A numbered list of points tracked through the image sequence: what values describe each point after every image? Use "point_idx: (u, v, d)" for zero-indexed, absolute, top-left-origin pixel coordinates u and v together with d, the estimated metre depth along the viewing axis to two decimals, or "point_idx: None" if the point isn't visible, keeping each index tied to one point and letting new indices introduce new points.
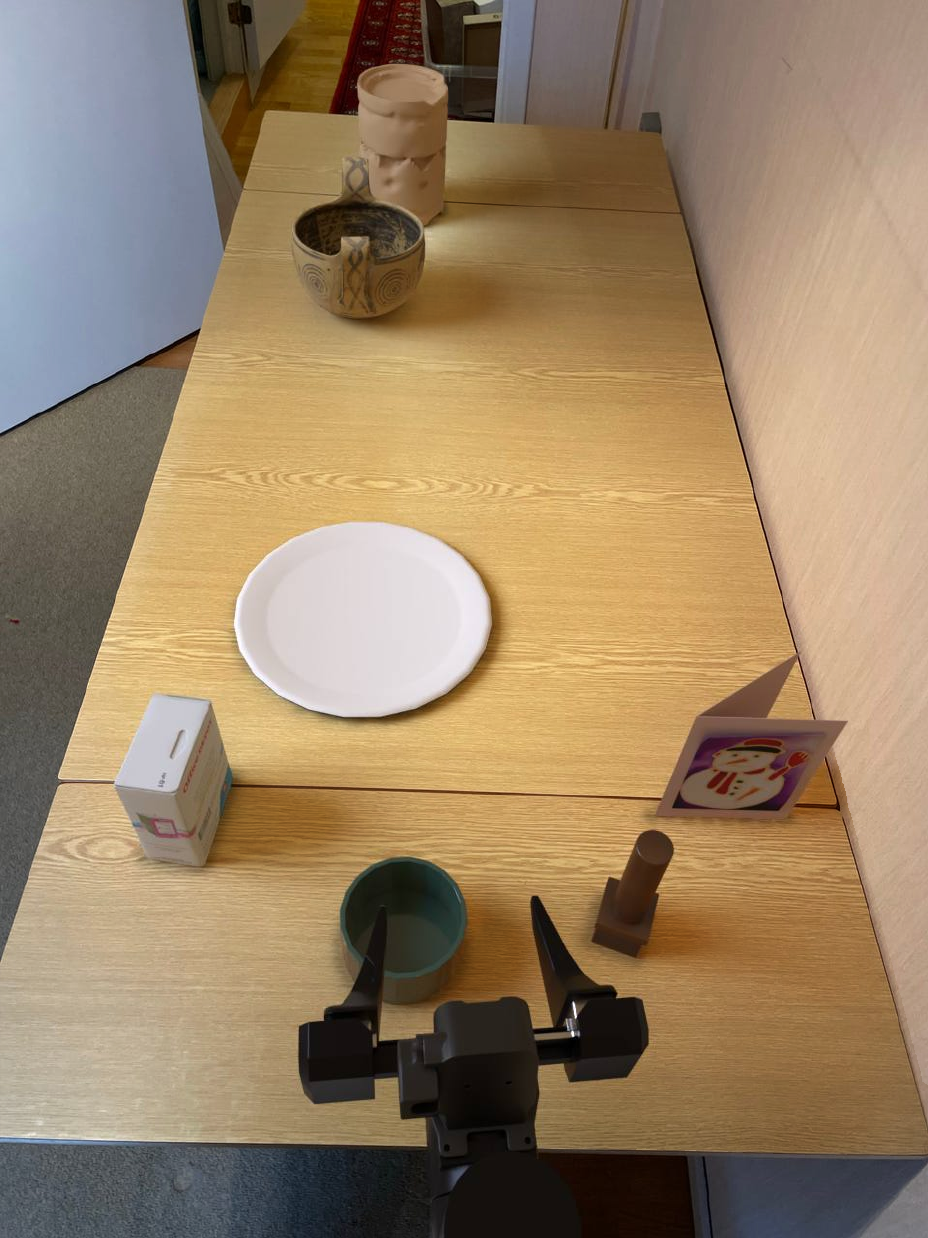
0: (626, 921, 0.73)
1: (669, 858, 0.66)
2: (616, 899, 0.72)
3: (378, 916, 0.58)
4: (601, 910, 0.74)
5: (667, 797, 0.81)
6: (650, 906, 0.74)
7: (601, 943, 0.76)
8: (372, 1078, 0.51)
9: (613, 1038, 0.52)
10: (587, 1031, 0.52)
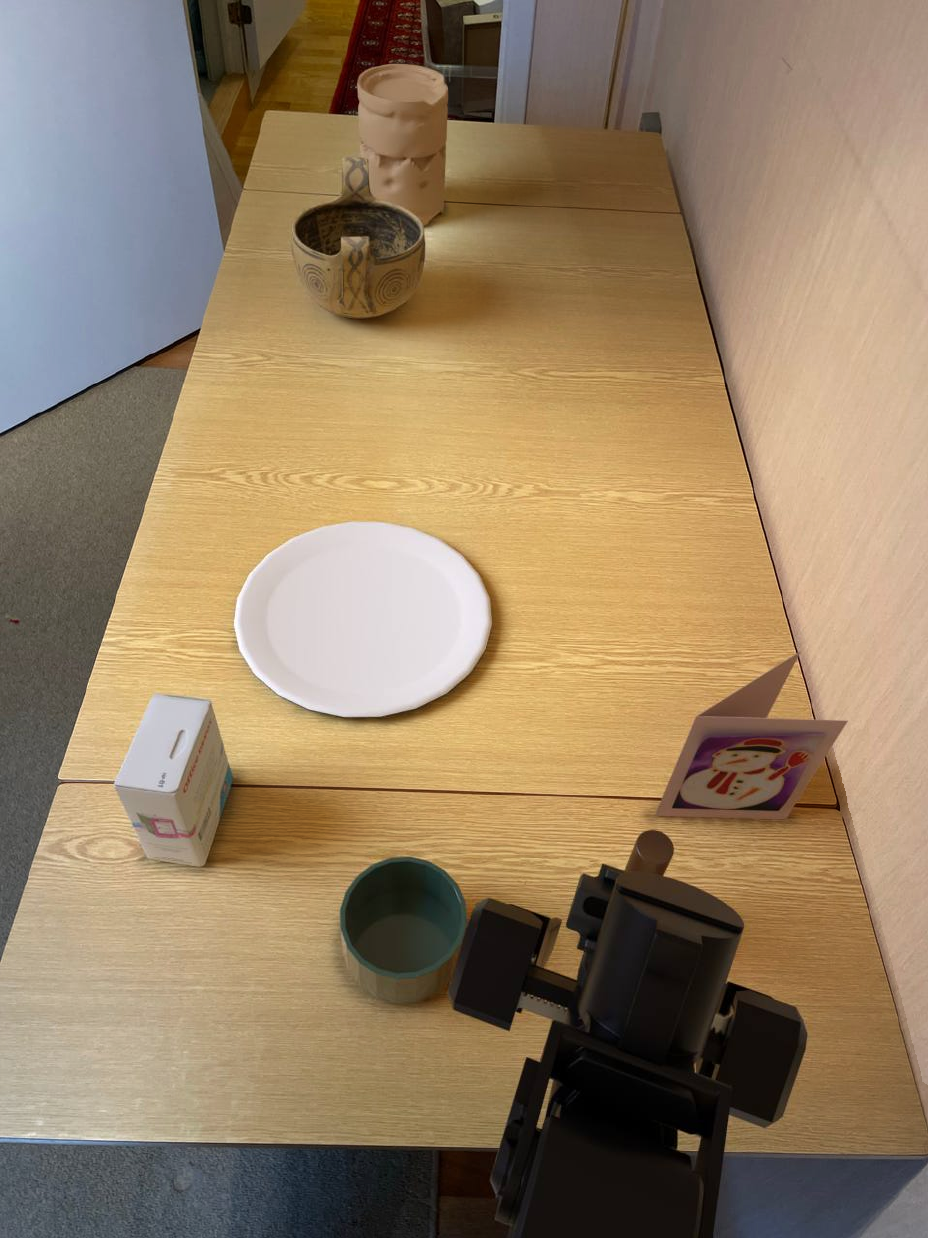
0: None
1: (669, 858, 0.66)
2: None
3: (554, 918, 0.62)
4: None
5: (667, 797, 0.81)
6: None
7: None
8: (530, 955, 0.53)
9: (771, 1017, 0.51)
10: (745, 1001, 0.52)
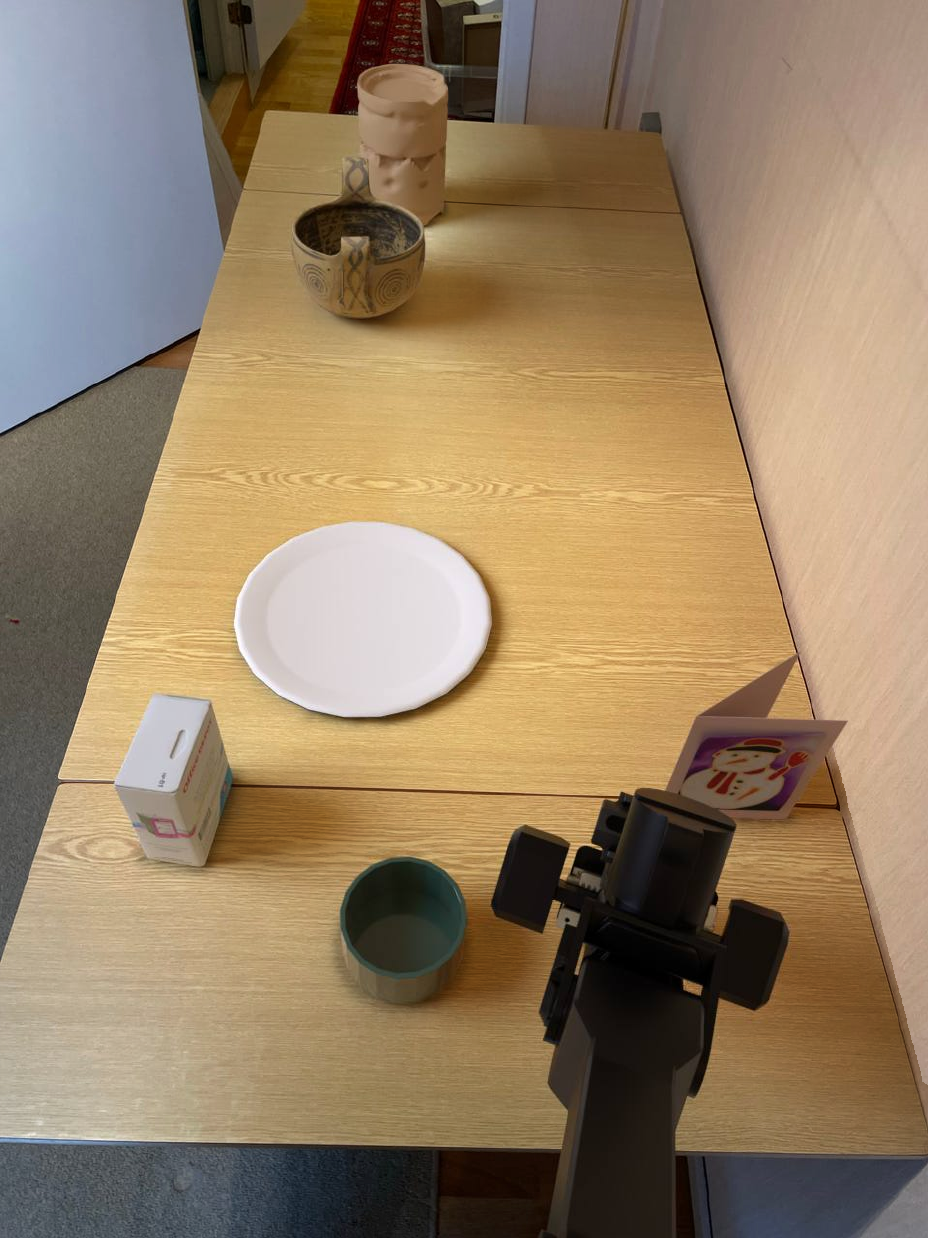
0: None
1: None
2: None
3: None
4: None
5: None
6: None
7: None
8: (561, 868, 0.64)
9: (759, 917, 0.62)
10: (738, 906, 0.63)
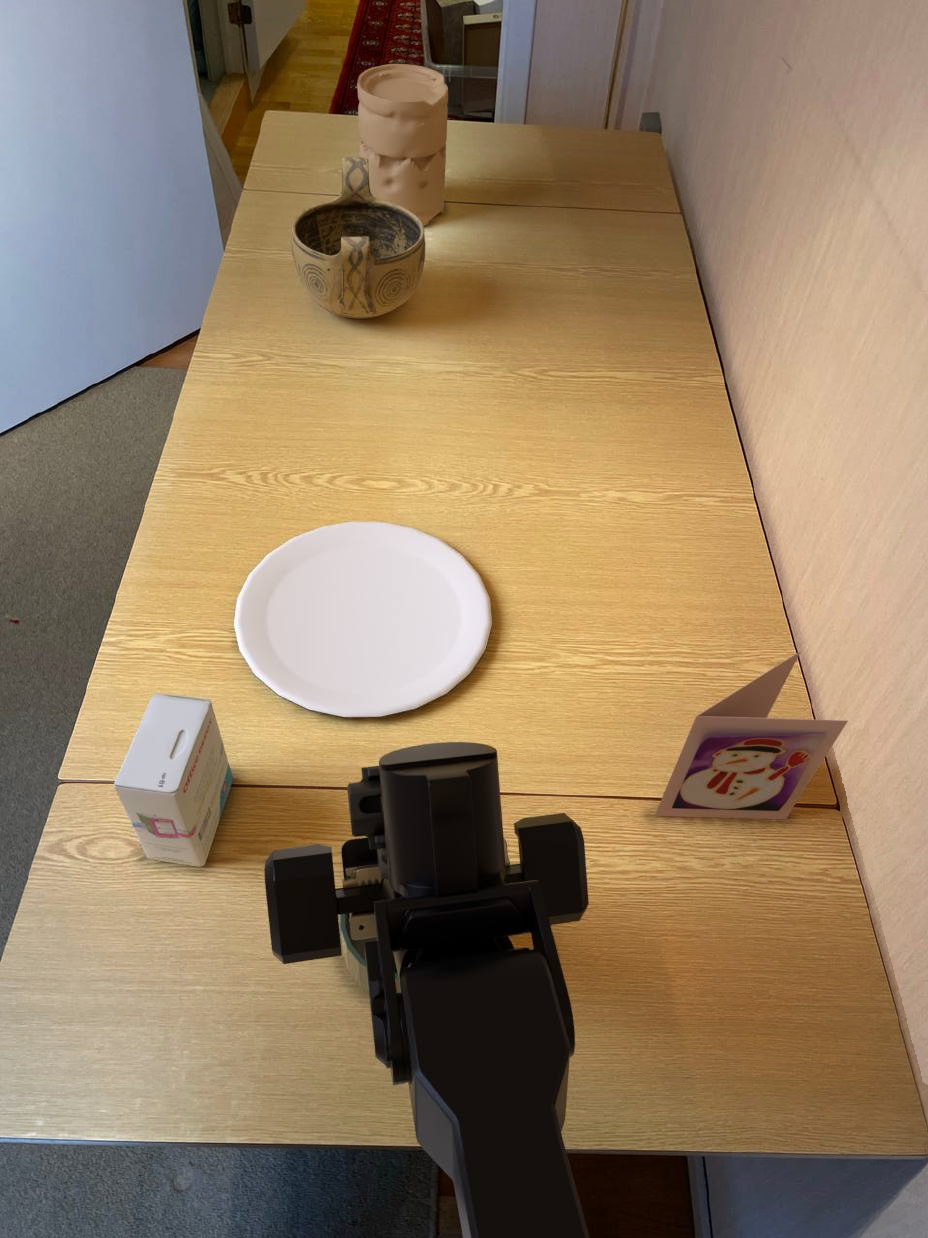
0: None
1: None
2: None
3: None
4: None
5: (667, 797, 0.81)
6: None
7: None
8: (332, 878, 0.55)
9: (548, 828, 0.58)
10: (524, 826, 0.58)
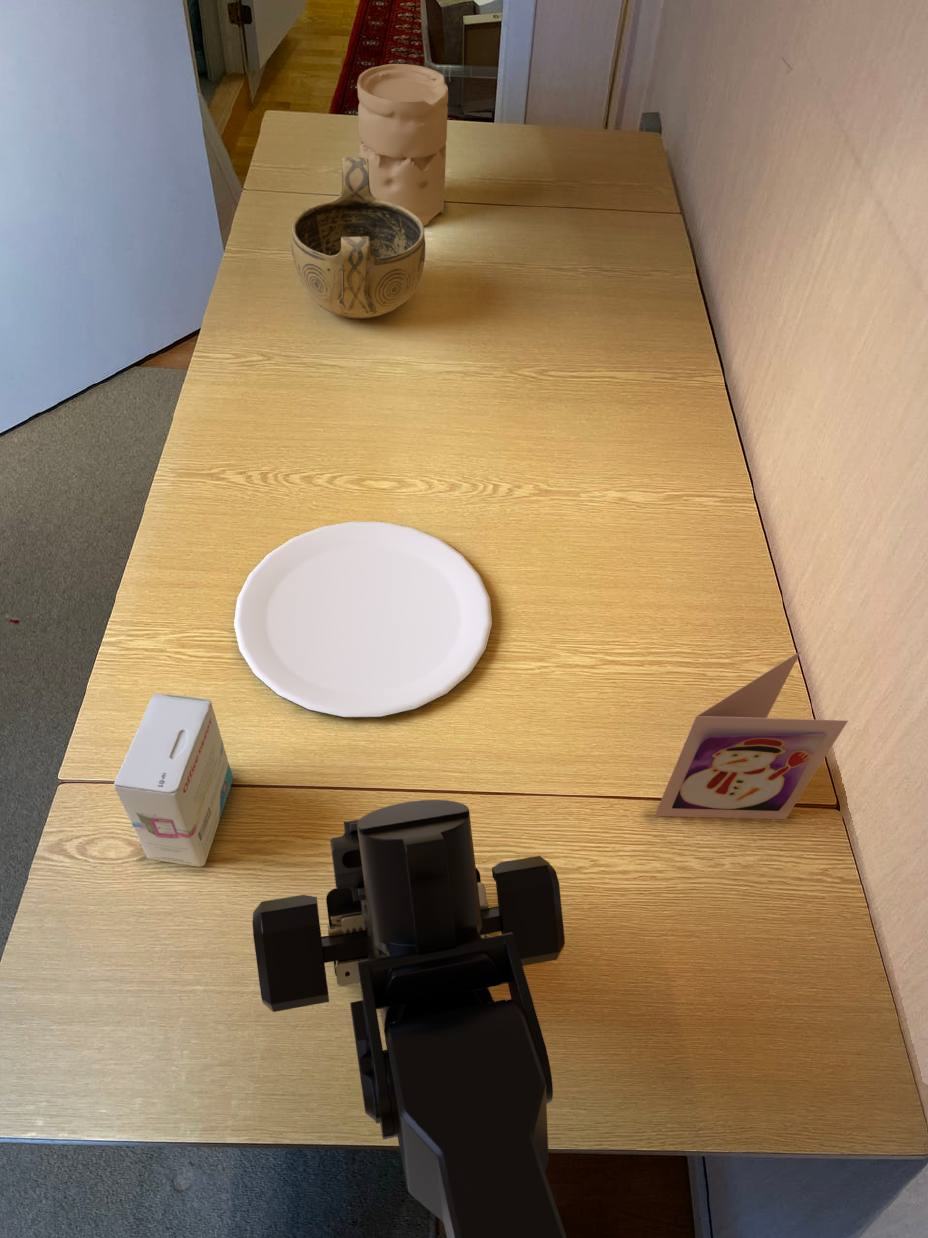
0: None
1: None
2: None
3: None
4: None
5: (667, 797, 0.81)
6: None
7: None
8: (318, 928, 0.58)
9: (524, 872, 0.60)
10: (501, 871, 0.61)
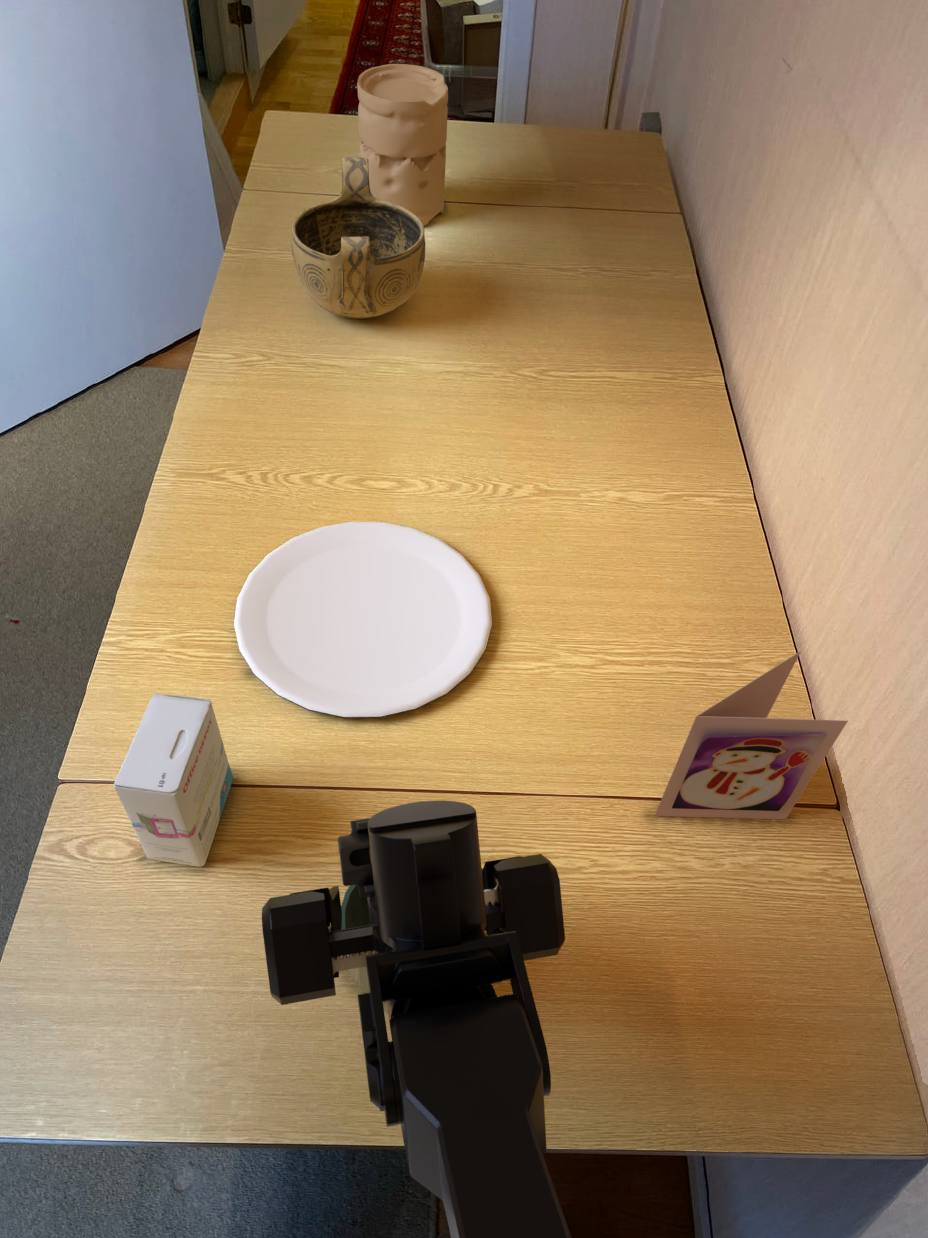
0: None
1: None
2: None
3: (331, 888, 0.69)
4: None
5: (667, 797, 0.81)
6: None
7: None
8: (326, 924, 0.59)
9: (526, 870, 0.62)
10: (503, 869, 0.62)
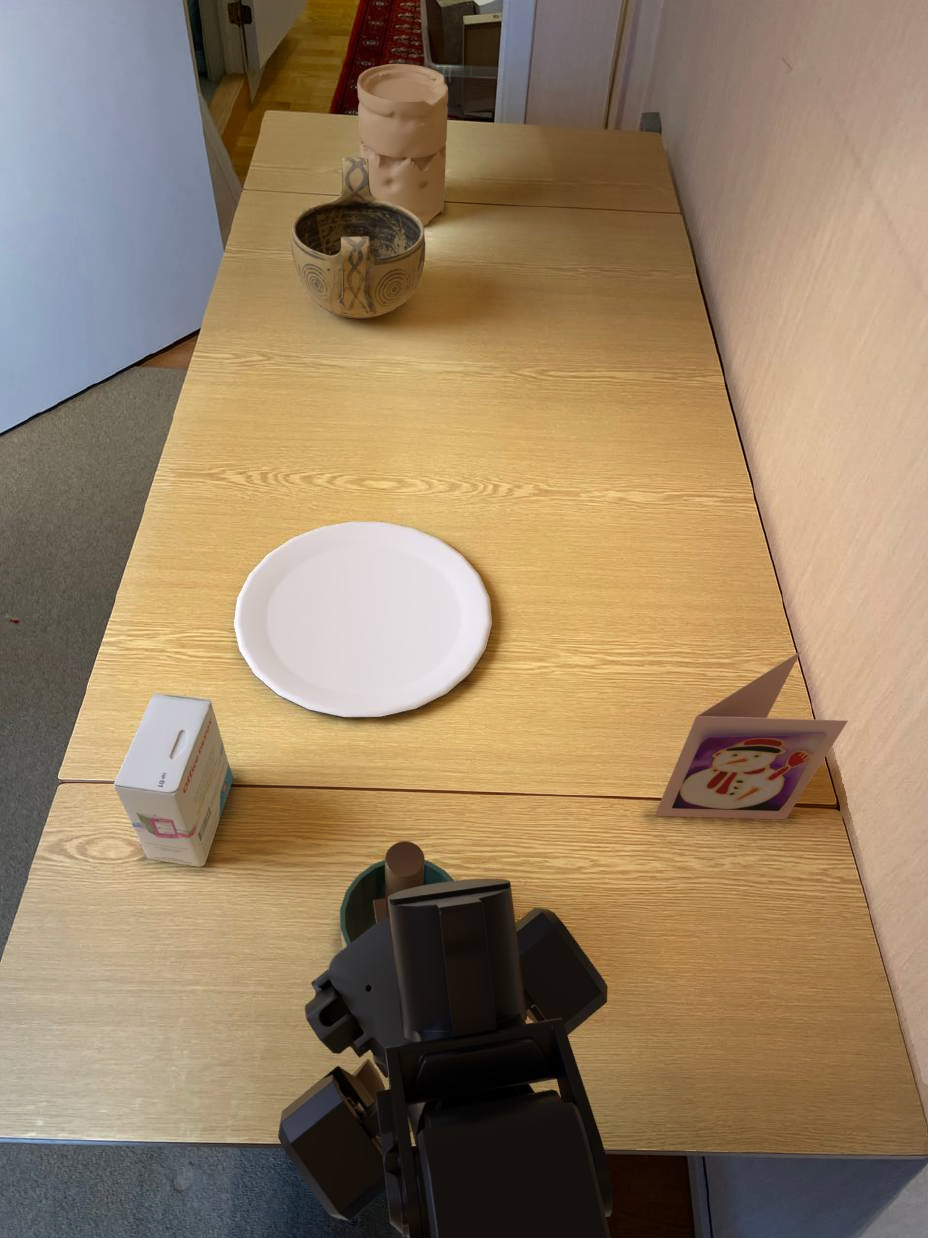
0: None
1: (422, 863, 0.64)
2: None
3: (361, 1065, 0.60)
4: None
5: (667, 797, 0.81)
6: None
7: None
8: (345, 1106, 0.51)
9: (523, 932, 0.54)
10: None
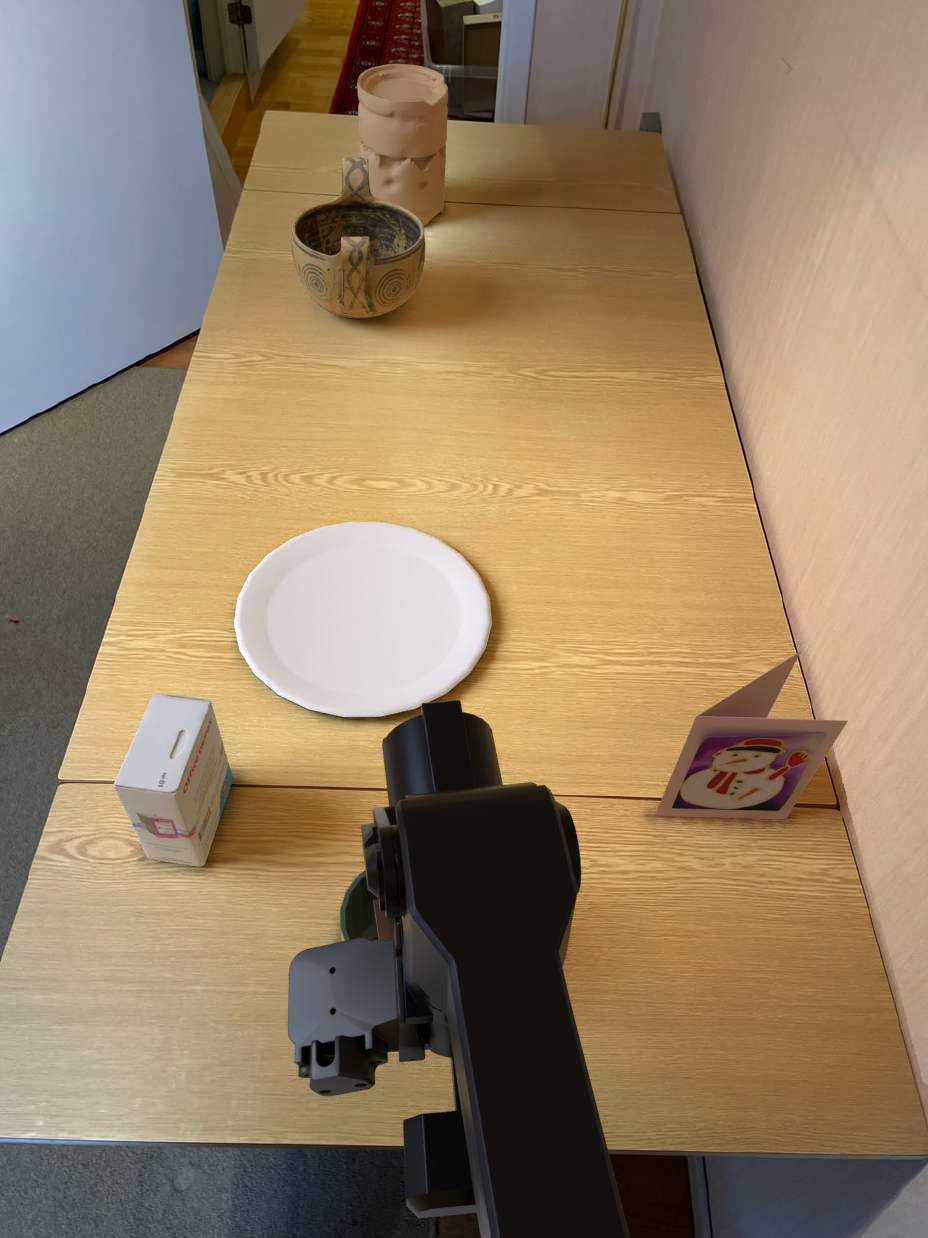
0: None
1: None
2: (389, 920, 0.70)
3: None
4: (380, 937, 0.71)
5: (667, 797, 0.81)
6: None
7: None
8: (428, 1115, 0.47)
9: None
10: None
